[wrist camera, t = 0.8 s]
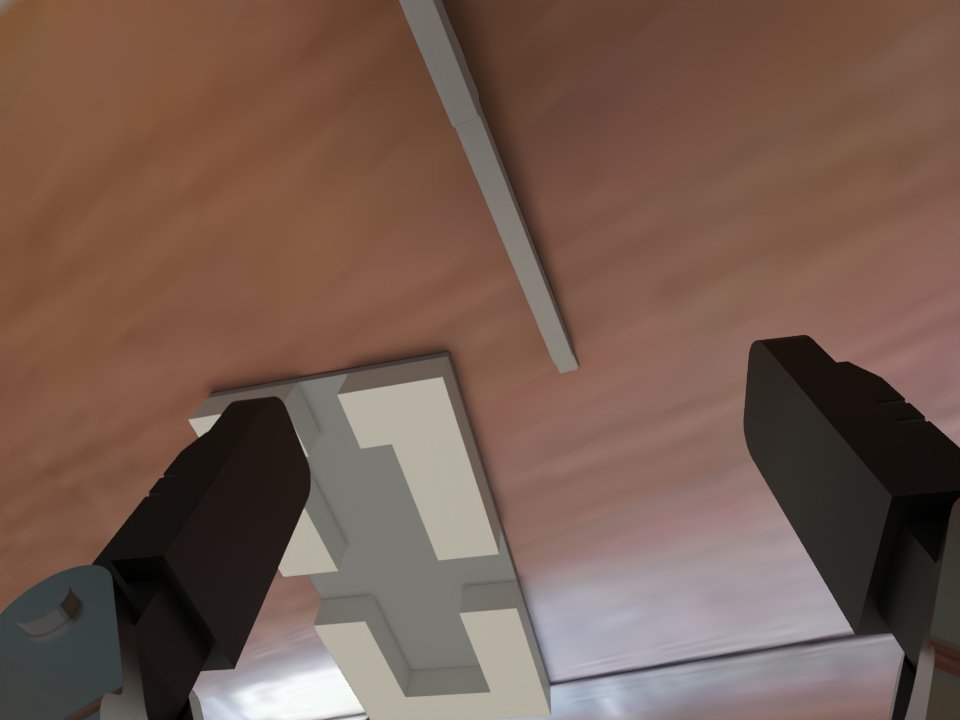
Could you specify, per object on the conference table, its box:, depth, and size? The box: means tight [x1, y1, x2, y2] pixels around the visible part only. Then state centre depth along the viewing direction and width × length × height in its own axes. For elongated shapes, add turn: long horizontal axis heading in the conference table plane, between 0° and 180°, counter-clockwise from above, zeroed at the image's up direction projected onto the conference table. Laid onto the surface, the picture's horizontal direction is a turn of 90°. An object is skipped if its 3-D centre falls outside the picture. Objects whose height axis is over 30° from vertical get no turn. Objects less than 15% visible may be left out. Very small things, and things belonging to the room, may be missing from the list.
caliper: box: [399, 0, 579, 374], centre depth 22 cm, size 21×1×6 cm, turn 22°
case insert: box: [188, 352, 551, 720], centre depth 37 cm, size 14×30×2 cm, turn 14°
